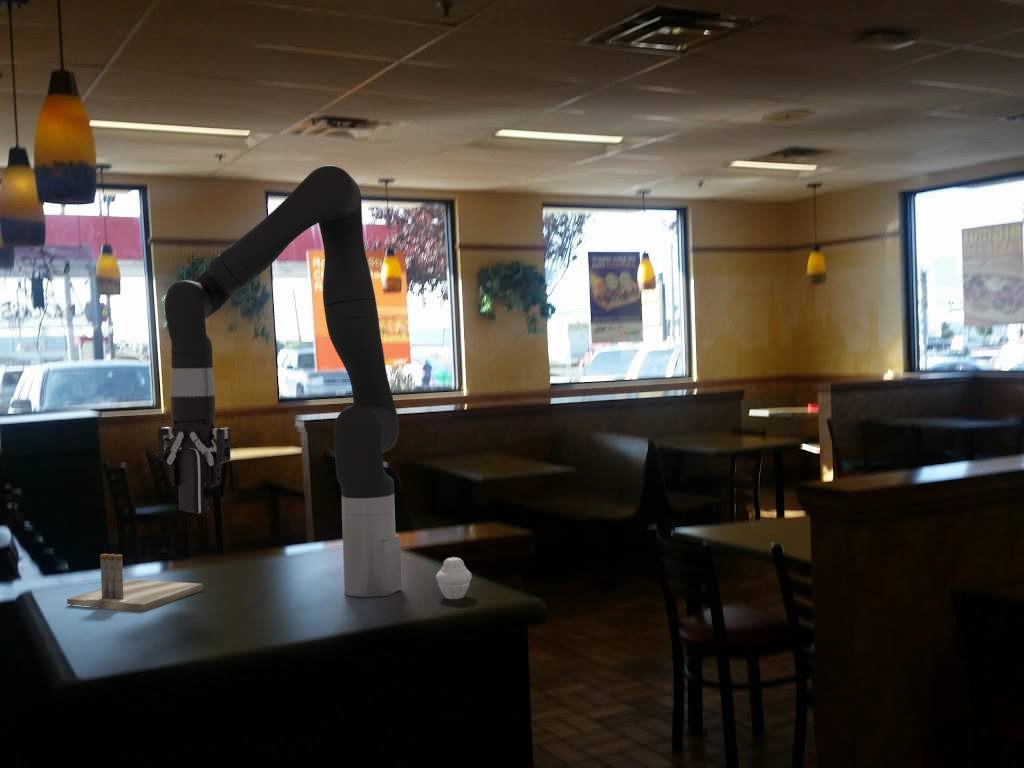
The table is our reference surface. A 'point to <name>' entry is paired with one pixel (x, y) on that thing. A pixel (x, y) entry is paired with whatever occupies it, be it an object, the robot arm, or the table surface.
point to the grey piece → (453, 578)
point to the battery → (192, 480)
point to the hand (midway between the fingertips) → (195, 485)
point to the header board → (131, 590)
